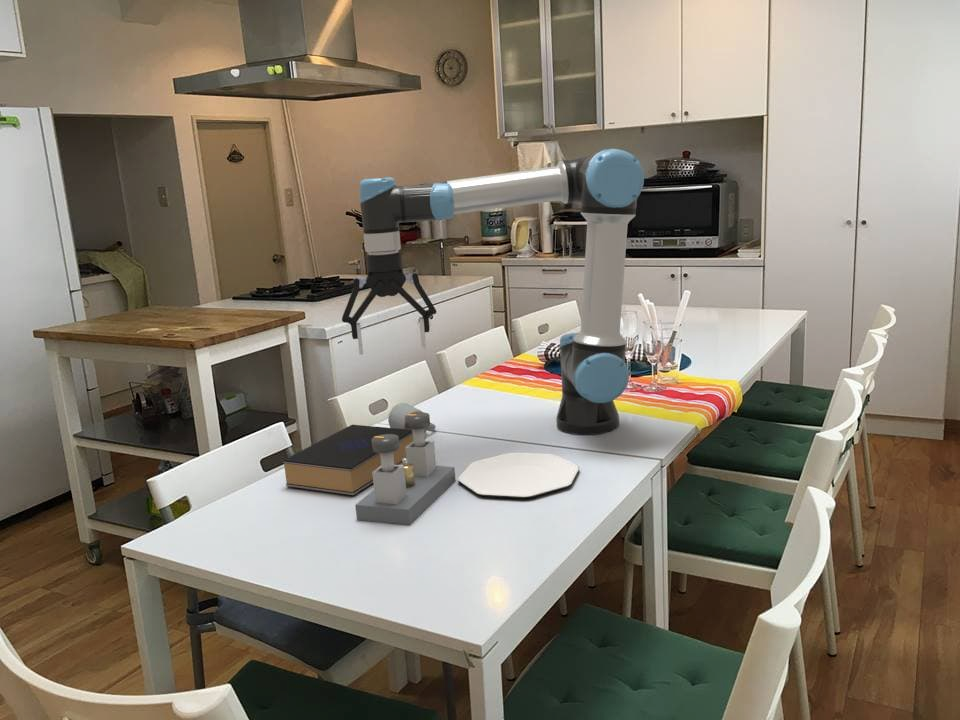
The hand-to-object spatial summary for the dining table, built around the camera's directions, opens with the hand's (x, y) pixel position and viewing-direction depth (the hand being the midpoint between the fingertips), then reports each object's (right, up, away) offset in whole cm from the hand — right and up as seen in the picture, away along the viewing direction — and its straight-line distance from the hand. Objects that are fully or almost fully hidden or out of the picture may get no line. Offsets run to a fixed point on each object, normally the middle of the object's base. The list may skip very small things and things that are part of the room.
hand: (392, 350), depth 176 cm
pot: (+5, -27, -17) cm, 32 cm away
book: (-9, -27, +1) cm, 28 cm away
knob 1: (+2, -24, -24) cm, 35 cm away
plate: (+27, -27, -9) cm, 39 cm away
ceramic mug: (+3, -21, +24) cm, 32 cm away
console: (+5, -30, -16) cm, 34 cm away
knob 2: (+7, -21, -12) cm, 25 cm away
